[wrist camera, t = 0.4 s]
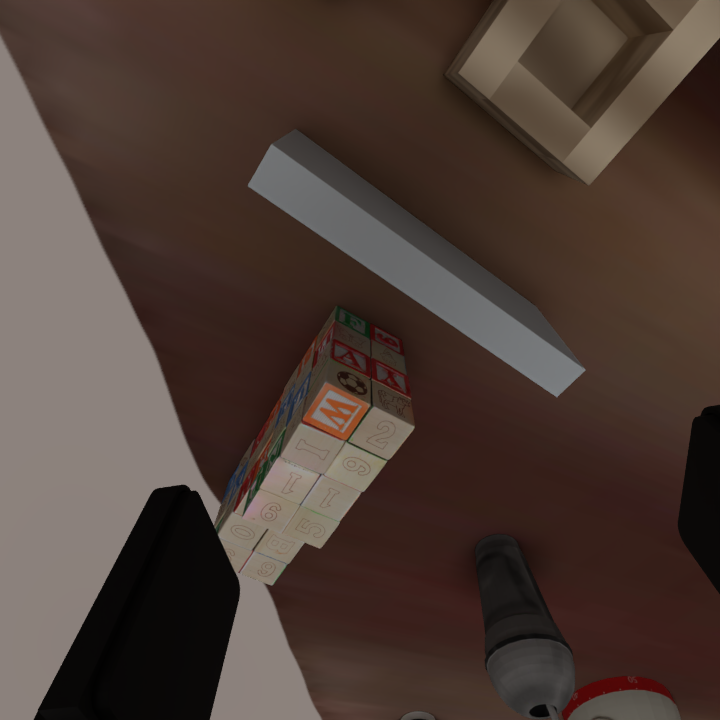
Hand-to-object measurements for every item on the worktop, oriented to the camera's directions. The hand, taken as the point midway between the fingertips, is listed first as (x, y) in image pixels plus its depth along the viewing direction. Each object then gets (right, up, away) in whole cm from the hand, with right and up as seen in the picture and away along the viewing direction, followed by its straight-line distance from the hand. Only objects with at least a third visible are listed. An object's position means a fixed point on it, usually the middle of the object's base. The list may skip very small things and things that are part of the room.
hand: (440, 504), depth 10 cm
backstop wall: (+2, +12, +27) cm, 30 cm away
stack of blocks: (-6, -2, +35) cm, 36 cm away
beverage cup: (+13, -17, +43) cm, 48 cm away
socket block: (+11, +22, +22) cm, 33 cm away
